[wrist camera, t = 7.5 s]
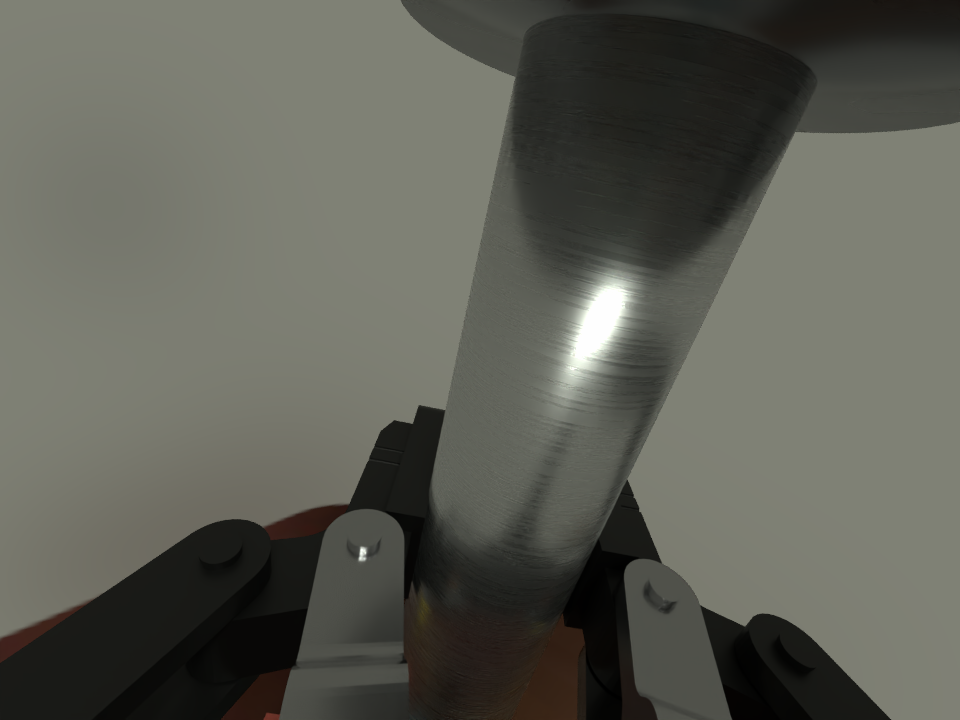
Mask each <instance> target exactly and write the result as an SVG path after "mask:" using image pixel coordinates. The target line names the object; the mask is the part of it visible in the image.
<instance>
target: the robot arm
mask: <svg viewBox="0 0 960 720" xmlns="http://www.w3.org/2000/svg"><path fill="white" fill-rule="evenodd" d="M445 411H446V410H441V409H436V408H431V407H426V406H421V405H419V407H418V409H417V413H416V416H415V419H414V422H413V424H410V423H405V422H399V421H395V420H394V421H393V422H392V423H390V424H389V425H388V426H387V427H385V428H384V429H383V430H381V432H380V434H379V436H378V439H377V441H376V443H375V446H374V449H373V450H372V453H371V455H370V458H369V461H368V462H367V464H366V467H365V469H364V471H363V474H362V476H361V478H360V481H359V483H358V486H357V488H356V490H355V493H354V495H353V497H352V499H351V502H350V504H349V506H348V509H347V510H346V512H345V514H344V515H342V516H340V517H339V518H337V519H336V520H335V521H334V522H332V523H331V525H330V526H329V527H328V528H327V529H326V530H324V531H322V532H319V533H317V534H314V535H310V536H305V537H298V538H289V539H280V540H270V537H269V535H268V533H267V532H266V530H265V529H264V528H263V527H261V526H260V525H258V524H256V523H254V522H251V521H248V520H241V519H232V520H224V521H220V522H215V523H212V524H209V525H207V526H204V527H203V528H200V529H199V530H197V531H195V532H193V533H192V534H190V535H189V536H187V537H186V538H184V539H183V540H181V541H180V542H178V543H177V544H175V545H174V546H172V547H171V548H169V549H168V550H167V551H165V552H164V553H162V554H161V555H159V556H158V557H156V558H155V559H153V560H152V561H150V562H149V563H147V564H146V565H145V566H143V567H141V568H140V569H139V570H137V571H136V572H134V573H133V574H131V575H130V576H128V577H127V578H125V579H124V580H122V581H121V582H119V583H118V584H117V585H115V586H113V587H112V588H110V589H109V590H108V591H106V592H105V593H103V594H102V595H100V596H99V597H97V598H96V599H94V600H93V601H91V602H90V603H88V604H87V605H85V606H84V607H82V608H81V609H79V610H78V611H77V612H75V613H74V614H72V615H71V616H69V617H68V618H66V619H65V620H63V621H62V622H60V623H59V624H57V625H56V626H54V627H53V628H51V629H50V630H49V631H47V632H46V633H44V634H43V635H41V636H40V637H38V638H37V639H35V640H34V641H32V642H31V643H29V644H28V645H26V646H25V647H23V648H22V649H20V650H19V651H18V652H16V653H15V654H13V655H12V656H10V657H9V658H7V659H6V660H4V661H3V662H1V663H0V720H220V719H221V718H222V717H223V716H224V715H225V714H226V713H227V711H228V710H229V709H230V708H231V707H232V706H233V705H234V704H235V702H236V701H237V700H238V699H239V698H240V697H241V696H242V695H243V693H244V692H245V691H246V690H247V689H248V688H249V687H250V686H251V684H252V683H253V682H254V681H255V680H256V679H257V678H258V676H259V675H260V674H264V673H268V672H273V671H278V670H283V669H287V668H292V669H291V672H290V675H289V679H288V682H287V686H286V690H285V695H284V699H283V703H282V708H281V712H280V717H279V720H409V673H408V663H407V659H405V658H404V647H403V637H404V599H408V597H409V593H410V588H411V583H412V578H413V574H414V569H415V564H416V559H417V554H418V550H419V545H420V540H421V535H422V530H423V526H424V521H425V516H426V511H427V506H428V501H429V488H430V482H431V477H432V473H433V468H434V463H435V458H436V453H437V449H438V444H439V439H440V434H441V430H442V425H443V420H444V415H445ZM633 496H634V494H633V492H632V490H631V487H630V485H629V482H628V480H627V481H626V483H625V485H624V487H623V489H622V491H621V493H620V495H619V497H618V499H617V501H616V503H615V505H614V507H613V509H612V511H611V514H610V516H609V518H608V520H607V522H606V524H605V526H604V528H603V530H602V532H601V534H600V536H599V538H598V540H597V542H596V545H595V547H594V549H593V551H592V553H591V555H590V557H589V559H588V561H587V563H586V565H585V567H584V569H583V571H582V573H581V576H580V578H579V580H578V582H577V584H576V586H575V588H574V590H573V592H572V594H571V596H570V598H569V600H568V602H567V604H566V607H565V609H564V611H563V617H564V624H565V626H567V627H573V628H578V629H583V634H584V640H585V644H584V646H583V648H582V650H581V651H580V654H579V657H578V708H577V720H891V719H890V718H889V717H888V716H887V715H886V714H885V713H884V712H883V711H882V710H881V709H880V708H879V707H878V706H877V705H876V704H875V703H874V702H873V701H872V700H871V699H870V698H869V697H868V695H867V694H866V693H865V692H864V691H863V690H862V689H861V688H860V687H859V686H858V685H857V684H856V683H855V682H854V681H853V680H852V679H851V678H850V677H849V676H848V675H847V674H846V673H845V672H844V671H843V670H842V669H841V668H840V667H839V666H838V665H837V664H836V663H835V662H834V660H832V658H830V656H829V655H828V654H827V653H826V652H825V651H824V650H823V649H822V648H821V647H820V646H819V645H818V644H817V643H816V642H815V641H814V640H813V639H812V638H811V637H810V636H808V635H807V634H806V633H805V632H803V631H802V630H801V629H799V628H798V627H797V626H795V625H793V624H792V623H790V622H788V621H787V620H784V619H782V618H780V617H777V616H774V615H770V614H758V615H756V616H754V617H753V618H752V619H751V620H750V622H749V623H748V624H747V625H746V626H745V627H744V626H742V625H740V624H738V623H736V622H734V621H732V620H730V619H727V618H725V617H723V616H721V615H719V614H717V613H715V612H713V611H710V610H708V609H706V608H704V607H702V606H701V605H700V604H699V601H698V599H697V597H696V595H695V593H694V592H693V590H692V589H691V587H690V586H689V585H688V584H687V582H686V581H685V580H684V579H683V578H682V577H681V576H680V575H678V574H677V573H676V572H675V571H673V570H672V569H670V568H669V567H667V566H665V565H663V564H662V562H661V560H660V558H659V555H658V553H657V550H656V548H655V546H654V543H653V541H652V538H651V536H650V533H649V531H648V529H647V526H646V523H645V521H644V519H643V516H642V514H641V512H639V506H638V504H637V502H636V500H635V498H633Z"/></svg>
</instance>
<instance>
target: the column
mask: <svg viewBox="0 0 960 720" xmlns="http://www.w3.org/2000/svg"><path fill="white" fill-rule="evenodd" d="M401 2H402V4H403V6H404V7H405V8H406V9H407V11H408V12H409V13H410V15H411V16H412V17H413V18H414V19H415V20H416V21H417V22H418V23H419V24H420V25H421V26H423V27H424V28H425V29H426V30H427V31H429V32H430V33H431V34H433V35H434V36H435V37H437V38H438V39H440V40H441V41H443V42H445V43H446V44H448V45H449V46H451V47H452V48H454V49H456V50H458V51H460V52H462V53H463V54H465V55H467V56H469V57H471V58H473V59H475V60H477V61H479V62H481V63H484V64H486V65H488V66H490V67H492V68H495V69H497V70H499V71H502V72H504V73H507V74H509V75H512V76H515V81H514V86H513V91H512V96H511V100H510V105H509V110H508V115H507V120H506V124H505V129H504V134H503V138H502V143H501V148H500V153H499V158H498V162H497V167H496V172H495V177H494V181H493V186H492V191H491V196H490V201H489V205H488V210H487V215H486V220H485V225H484V229H483V234H482V239H481V243H480V248H479V253H478V258H477V263H476V267H475V272H474V277H473V282H472V286H471V292H470V296H469V301H468V306H467V310H466V315H465V320H464V325H463V330H462V334H461V339H460V344H459V348H458V354H457V358H456V363H455V368H454V372H453V377H452V382H451V387H450V391H449V396H448V401H447V406H446V411H445V415H444V420H443V425H442V430H441V434H440V439H439V444H438V449H437V453H436V458H435V463H434V468H433V473H432V477H431V482H430V488H429V501H428V506H427V511H426V516H425V521H424V526H423V530H422V535H421V540H420V545H419V550H418V554H417V559H416V564H415V569H414V574H413V578H412V583H411V588H410V593H409V597H408V599H406V601H405V606H404V637H403V647H404V658H405V659H407V663H408V673H409V720H511V718H512V716H513V714H514V712H515V710H516V708H517V706H518V704H519V702H520V700H521V697H522V695H523V693H524V691H525V689H526V687H527V685H528V683H529V681H530V679H531V677H532V675H533V673H534V671H535V669H536V666H537V664H538V662H539V660H540V658H541V656H542V654H543V652H544V650H545V648H546V646H547V644H548V642H549V640H550V638H551V635H552V633H553V631H554V629H555V627H556V625H557V623H558V621H559V619H560V617H561V615H562V613H563V611H564V609H565V607H566V604H567V602H568V600H569V598H570V596H571V594H572V592H573V590H574V588H575V586H576V584H577V582H578V580H579V578H580V576H581V573H582V571H583V569H584V567H585V565H586V563H587V561H588V559H589V557H590V555H591V553H592V551H593V549H594V547H595V545H596V542H597V540H598V538H599V536H600V534H601V532H602V530H603V528H604V526H605V524H606V522H607V520H608V518H609V516H610V514H611V511H612V509H613V507H614V505H615V503H616V501H617V499H618V497H619V495H620V493H621V491H622V489H623V487H624V485H625V483H626V481H627V478H628V476H629V474H630V472H631V470H632V468H633V466H634V464H635V462H636V460H637V457H638V456H639V454H640V452H641V449H642V447H643V445H644V443H645V441H646V439H647V437H648V435H649V433H650V431H651V429H652V427H653V425H654V423H655V421H656V419H657V416H658V414H659V412H660V410H661V408H662V406H663V404H664V402H665V400H666V398H667V396H668V394H669V392H670V389H671V388H672V385H673V383H674V381H675V379H676V377H677V375H678V373H679V371H680V369H681V367H682V365H683V363H684V361H685V359H686V356H687V354H688V352H689V350H690V348H691V346H692V344H693V342H694V340H695V338H696V336H697V334H698V332H699V330H700V328H701V326H702V323H703V321H704V319H705V317H706V315H707V313H708V311H709V309H710V307H711V305H712V303H713V301H714V299H715V296H716V294H717V293H718V290H719V288H720V286H721V284H722V282H723V280H724V278H725V276H726V274H727V272H728V270H729V267H730V266H731V264H732V262H733V259H734V257H735V255H736V253H737V251H738V249H739V247H740V245H741V243H742V241H743V239H744V236H745V235H746V233H747V230H748V228H749V226H750V224H751V222H752V220H753V218H754V216H755V214H756V212H757V210H758V208H759V206H760V204H761V202H762V199H763V197H764V195H765V193H766V191H767V189H768V187H769V185H770V183H771V181H772V179H773V177H774V175H775V173H776V171H777V169H778V166H779V164H780V162H781V160H782V158H783V156H784V154H785V152H786V150H787V148H788V146H789V144H790V141H791V139H792V137H793V135H794V133H795V132H810V133H867V132H868V133H869V132H887V131H899V130H910V129H919V128H927V127H933V126H939V125H946V124H952V123H956V122H960V0H401Z"/></svg>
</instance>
